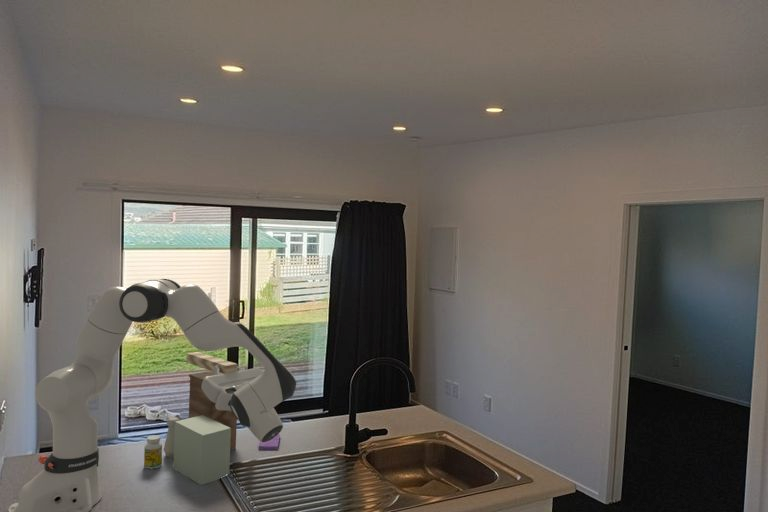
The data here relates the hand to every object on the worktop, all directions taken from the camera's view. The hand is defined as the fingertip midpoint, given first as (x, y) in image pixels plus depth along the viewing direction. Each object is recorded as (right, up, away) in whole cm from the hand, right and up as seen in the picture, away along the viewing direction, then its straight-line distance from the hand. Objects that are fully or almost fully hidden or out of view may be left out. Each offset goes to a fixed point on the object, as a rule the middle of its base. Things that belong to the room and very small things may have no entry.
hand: (223, 365), depth 172 cm
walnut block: (-13, -35, +29) cm, 48 cm away
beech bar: (-6, -2, +5) cm, 7 cm away
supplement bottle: (-27, -35, +11) cm, 46 cm away
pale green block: (-10, -36, +8) cm, 38 cm away
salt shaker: (-24, -35, +20) cm, 47 cm away
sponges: (+7, -37, +36) cm, 52 cm away
